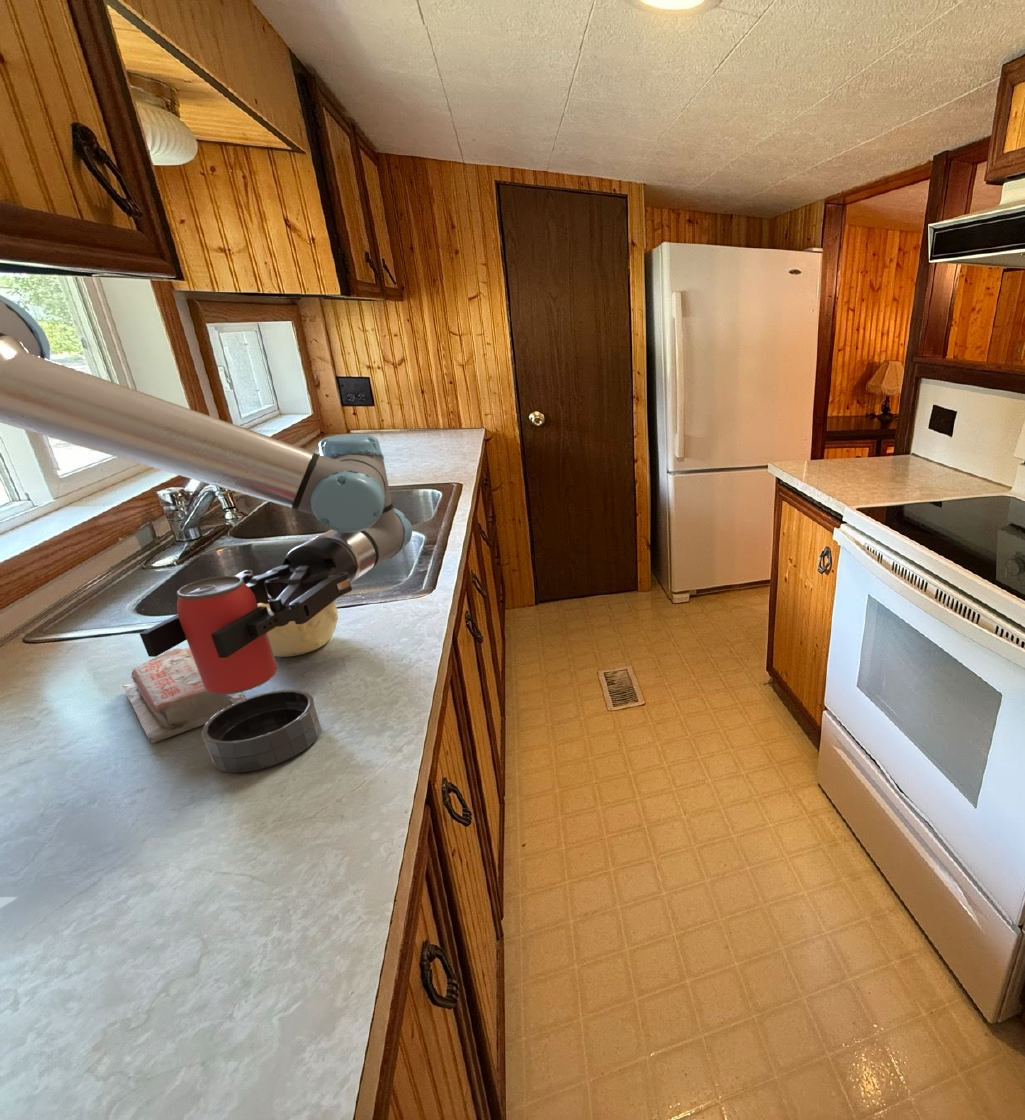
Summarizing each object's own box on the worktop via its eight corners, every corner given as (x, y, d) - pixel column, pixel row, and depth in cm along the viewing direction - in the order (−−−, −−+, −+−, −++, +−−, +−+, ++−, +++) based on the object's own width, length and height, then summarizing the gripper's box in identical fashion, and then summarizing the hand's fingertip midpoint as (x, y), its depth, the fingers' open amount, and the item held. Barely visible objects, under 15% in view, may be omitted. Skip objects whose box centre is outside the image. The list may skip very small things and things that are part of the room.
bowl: (189, 775, 68) (176, 743, 67) (260, 718, 78) (250, 689, 77) (282, 776, 68) (271, 744, 67) (341, 719, 78) (332, 690, 77)
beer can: (192, 689, 67) (154, 592, 63) (255, 661, 73) (225, 570, 68) (230, 702, 65) (194, 602, 60) (292, 672, 71) (263, 578, 66)
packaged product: (241, 678, 78) (137, 713, 71) (252, 709, 80) (151, 747, 73) (205, 635, 89) (111, 662, 81) (215, 663, 91) (124, 692, 83)
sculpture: (267, 674, 88) (245, 608, 84) (246, 646, 95) (225, 584, 91) (354, 645, 96) (338, 584, 92) (328, 622, 103) (313, 564, 99)
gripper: (406, 588, 84) (288, 678, 63) (267, 586, 84) (102, 675, 63) (395, 537, 81) (268, 614, 60) (251, 535, 81) (73, 611, 60)
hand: (183, 645), depth 61 cm, fingers closed on beer can, 7 cm apart
